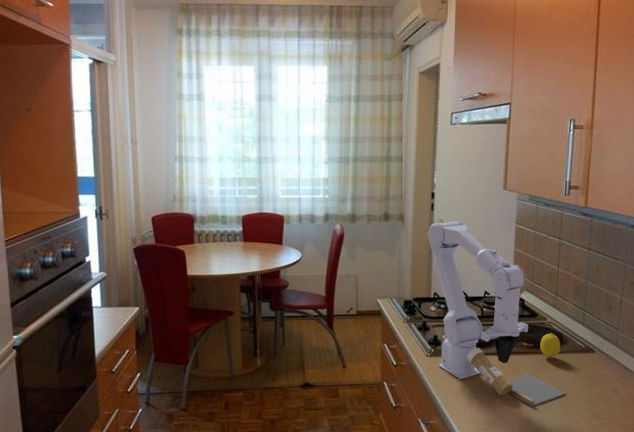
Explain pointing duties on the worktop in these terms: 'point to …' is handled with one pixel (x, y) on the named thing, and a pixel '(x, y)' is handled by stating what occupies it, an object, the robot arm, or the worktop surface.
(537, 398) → the mat
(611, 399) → the worktop surface
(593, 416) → the worktop surface
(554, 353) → the lemon
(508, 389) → the sprinkles bottle
